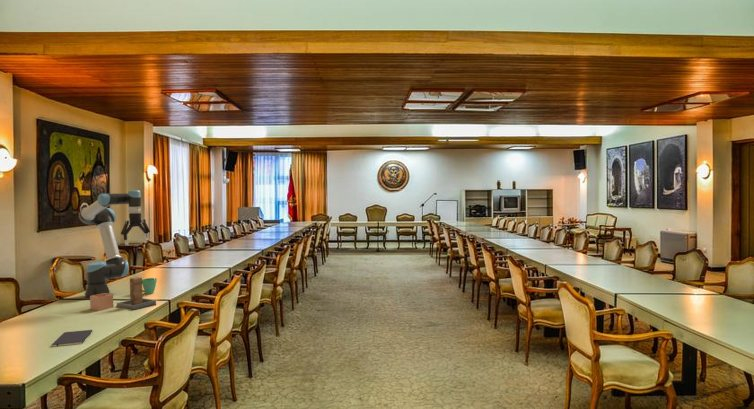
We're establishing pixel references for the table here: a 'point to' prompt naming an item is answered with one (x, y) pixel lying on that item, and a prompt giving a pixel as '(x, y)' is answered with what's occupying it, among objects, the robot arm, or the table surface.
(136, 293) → the walnut peg
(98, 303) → the square pink sleeve
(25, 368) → the table surface
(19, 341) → the table surface
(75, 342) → the notebook
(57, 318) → the table surface
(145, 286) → the mug
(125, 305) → the charcoal tray
